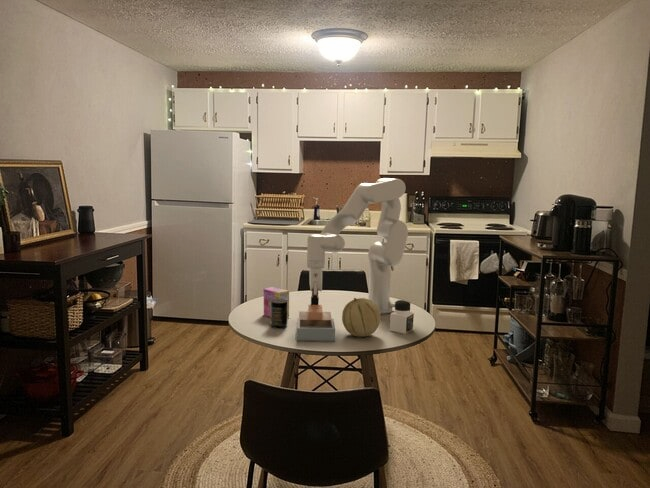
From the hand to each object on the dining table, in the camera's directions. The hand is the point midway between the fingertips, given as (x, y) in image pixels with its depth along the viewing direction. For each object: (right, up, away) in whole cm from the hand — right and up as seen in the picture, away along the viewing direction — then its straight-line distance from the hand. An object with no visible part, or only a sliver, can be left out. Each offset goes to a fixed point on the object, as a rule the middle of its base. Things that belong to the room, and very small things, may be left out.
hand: (314, 306), depth 211 cm
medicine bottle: (+35, -8, -14) cm, 38 cm away
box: (-17, -5, +1) cm, 17 cm away
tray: (+1, -8, -23) cm, 25 cm away
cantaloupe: (+18, -9, -22) cm, 30 cm away
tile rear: (0, -2, -8) cm, 8 cm away
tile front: (+1, -3, -14) cm, 14 cm away
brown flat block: (0, -7, -10) cm, 12 cm away
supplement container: (-14, -7, -13) cm, 20 cm away
